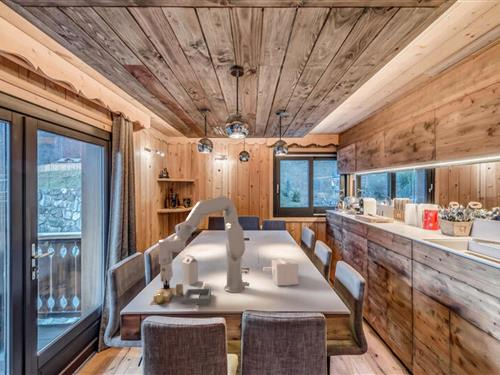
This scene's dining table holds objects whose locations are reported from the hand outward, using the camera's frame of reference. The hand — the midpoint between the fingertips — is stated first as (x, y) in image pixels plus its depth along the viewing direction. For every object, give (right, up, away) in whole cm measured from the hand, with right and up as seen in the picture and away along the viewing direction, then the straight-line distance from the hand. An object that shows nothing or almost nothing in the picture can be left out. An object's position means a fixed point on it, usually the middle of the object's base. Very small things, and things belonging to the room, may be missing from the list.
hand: (166, 291), depth 153 cm
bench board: (0, -3, -2) cm, 4 cm away
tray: (+19, -3, -5) cm, 20 cm away
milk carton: (+10, -3, +18) cm, 21 cm away
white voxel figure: (+71, -2, +27) cm, 76 cm away
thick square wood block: (0, -1, -6) cm, 6 cm away
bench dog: (0, -2, -12) cm, 12 cm away
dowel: (+8, -3, -2) cm, 9 cm away
